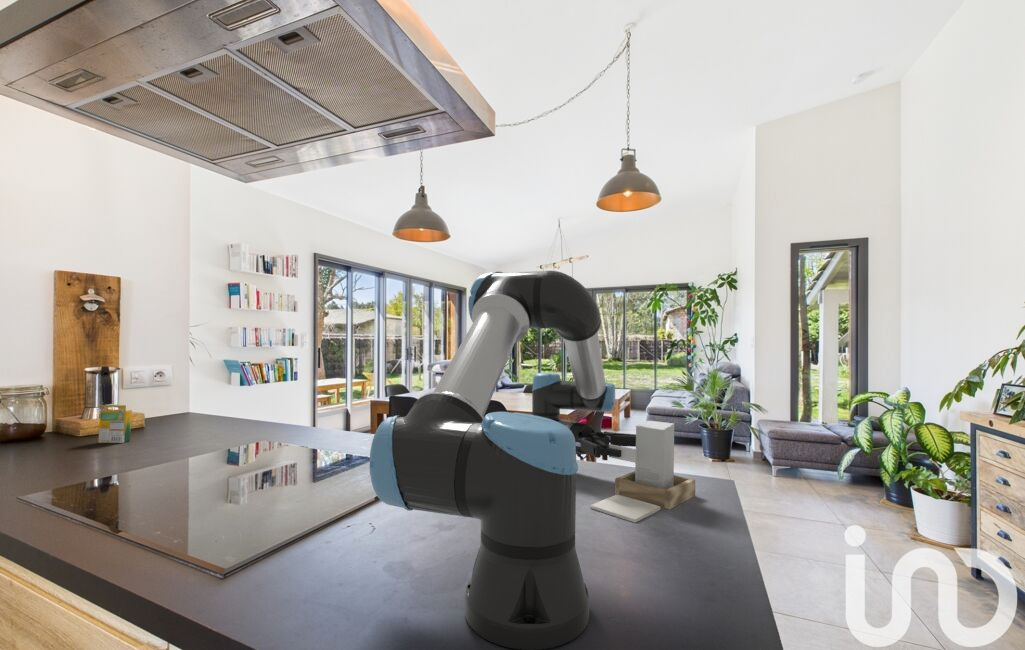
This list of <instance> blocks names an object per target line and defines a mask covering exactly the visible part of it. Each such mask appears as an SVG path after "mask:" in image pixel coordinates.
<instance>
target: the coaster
mask: <svg viewBox="0 0 1025 650" xmlns="http://www.w3.org/2000/svg"><path fill="white" fill-rule="evenodd" d="M589 507H590V509H592V510H594V511H597V512H599V513H600V512H601V513H604V514H606V515H610V516H613V517H616V518H620V519H623V520H625V521H629V522H632V523H638V522H639V521H641V520H643V519H646V518H647V517H649V516H651V515H653V514H655V513H657V512H658V511H660V510H662V509H661V508H662V507H661V506H657V505H654V504H650V503H647V502H643V501H639V500H636V499H632V498H629V497H625V496H621V495H618V494H617V495H615V494H614V495H612V496H609V497H607V498H605V499H603V500H600V501H598V502H595V503H593V504H590V506H589Z"/></svg>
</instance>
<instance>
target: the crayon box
mask: <svg viewBox="0 0 1025 650" xmlns="http://www.w3.org/2000/svg"><path fill="white" fill-rule="evenodd" d="M109 408H110V409H109ZM111 408H118V409H114V410H113V409H111ZM132 412H133V411H132V409H130V410H129V409H127V405H126V404H125V405H124V404H123V405H122V404H121V405H118V404H117V405H115V404H113V405H102V404H101V405H100V413H99V427H98V428H99V429H98V441H97V442H98V444H116V443H117V444H118V443H119V444H124V443H128V442H130V441H131V431H132V415H133V413H132Z"/></svg>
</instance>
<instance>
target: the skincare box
mask: <svg viewBox="0 0 1025 650" xmlns="http://www.w3.org/2000/svg"><path fill="white" fill-rule="evenodd" d="M635 434H636V447H635V449H637V462H636V463H635V470H634V471H635V482H638V483H642V484H646V485H650V486H654V487H658V488H662V489H666V490H667V489H670V488H672V487H673V486H674V475H675V474H674V471H675V470H674V469H675V463H674V462H675V423H672V422H666V421H665V422H664V421H657V420H656V421H655V420H646V421H645V422H642V423H639V424H637V425H635Z"/></svg>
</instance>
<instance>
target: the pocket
mask: <svg viewBox="0 0 1025 650" xmlns="http://www.w3.org/2000/svg"><path fill="white" fill-rule="evenodd" d="M614 481H615V482H614V484H615V485H614V486H615V487H614V495H615V494H616V495H617V494H618V495H621V496H625V497H629V498H632V499H636V500H639V501H643V502H647V503H650V504H654V505H657V506H661V508H662V509H665V510H671V509H674V508H675V507H676V506H678V505H680V504H682V502H683V503H684V501H685V502H686V501H688V500H690V499H692V498H694V497H696V479H694V478H689V477H686V476H681V475H677V474H674V486H673V487H672V488H670V489H667V490H666V489H662V488H658V487H654V486H650V485H646V484H642V483H638V482H635V470H634V471H632V472H629V473H626V474H624V475H620V476H618V477H615V478H614ZM693 496H694V497H693ZM691 497H692V498H691ZM689 498H690V499H689Z"/></svg>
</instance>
